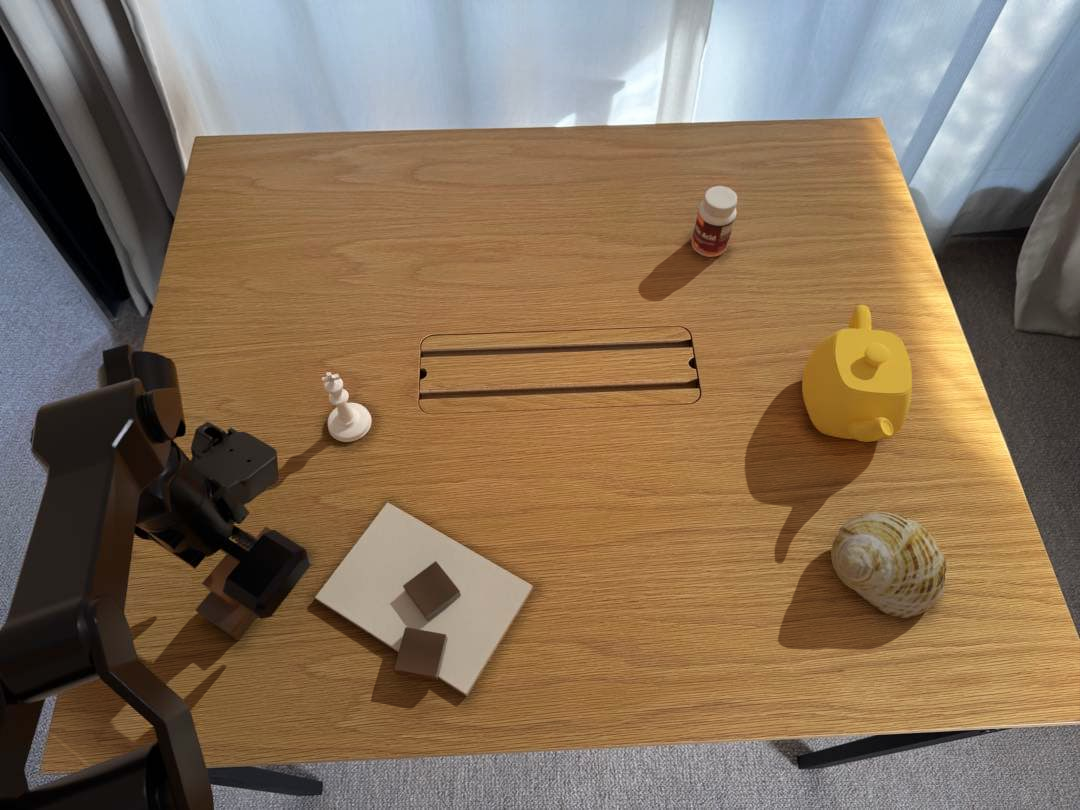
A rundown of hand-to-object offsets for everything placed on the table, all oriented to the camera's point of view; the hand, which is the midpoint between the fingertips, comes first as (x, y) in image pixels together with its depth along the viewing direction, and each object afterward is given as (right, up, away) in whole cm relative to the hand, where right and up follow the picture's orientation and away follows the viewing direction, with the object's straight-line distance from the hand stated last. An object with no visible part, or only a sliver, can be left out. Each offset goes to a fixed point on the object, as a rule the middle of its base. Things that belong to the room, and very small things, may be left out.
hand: (237, 567), depth 72 cm
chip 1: (+18, -3, +4) cm, 19 cm away
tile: (+17, -4, +5) cm, 18 cm away
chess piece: (+7, +13, +16) cm, 21 cm away
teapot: (+63, +14, +16) cm, 67 cm away
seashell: (+62, -2, +6) cm, 63 cm away
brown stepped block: (0, -3, +5) cm, 6 cm away
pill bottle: (+51, +36, +30) cm, 69 cm away
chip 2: (+17, -9, +1) cm, 19 cm away
